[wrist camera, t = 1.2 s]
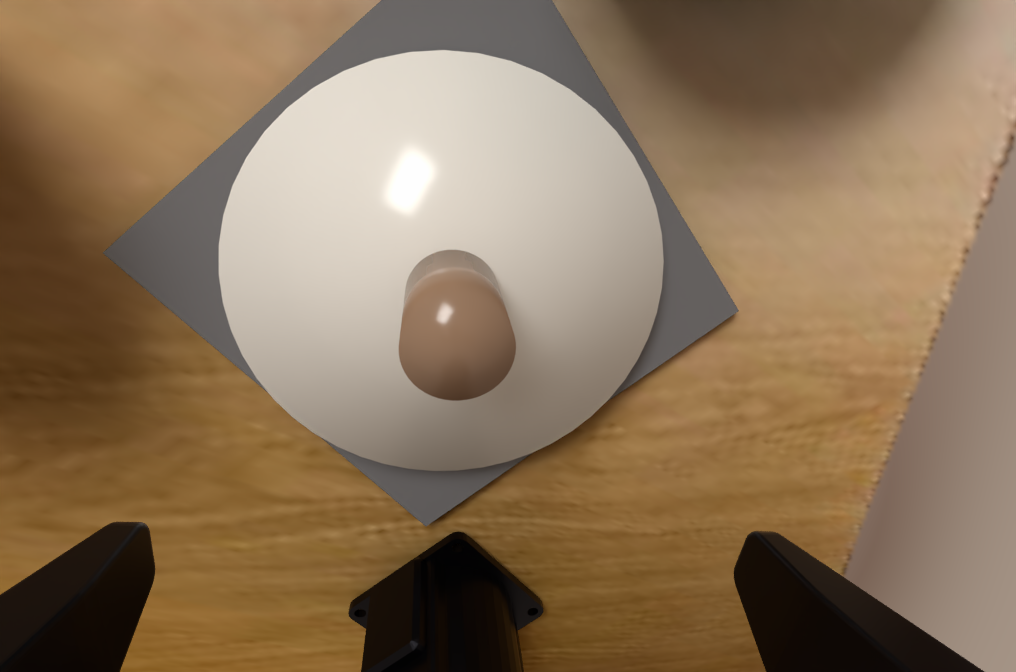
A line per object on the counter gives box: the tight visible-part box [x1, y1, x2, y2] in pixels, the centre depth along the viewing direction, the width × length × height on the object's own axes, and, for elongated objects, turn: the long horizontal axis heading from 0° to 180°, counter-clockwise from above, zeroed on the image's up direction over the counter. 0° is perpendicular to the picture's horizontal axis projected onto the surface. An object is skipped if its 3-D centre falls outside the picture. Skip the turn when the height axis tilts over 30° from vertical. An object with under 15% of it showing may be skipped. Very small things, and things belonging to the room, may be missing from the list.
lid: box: [219, 50, 664, 471], centre depth 17 cm, size 14×14×5 cm
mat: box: [103, 0, 739, 526], centre depth 19 cm, size 15×15×1 cm
